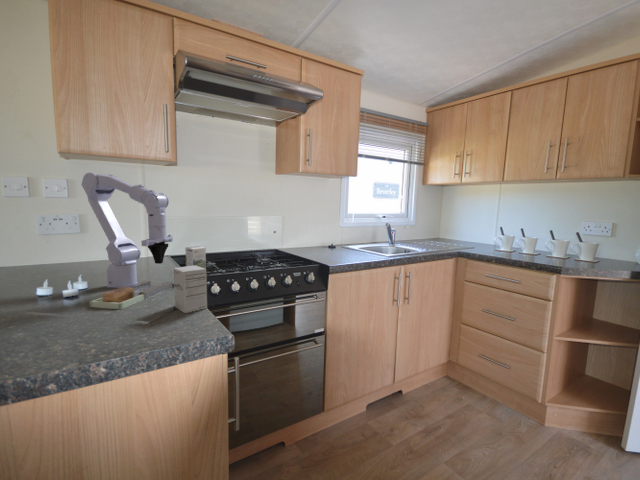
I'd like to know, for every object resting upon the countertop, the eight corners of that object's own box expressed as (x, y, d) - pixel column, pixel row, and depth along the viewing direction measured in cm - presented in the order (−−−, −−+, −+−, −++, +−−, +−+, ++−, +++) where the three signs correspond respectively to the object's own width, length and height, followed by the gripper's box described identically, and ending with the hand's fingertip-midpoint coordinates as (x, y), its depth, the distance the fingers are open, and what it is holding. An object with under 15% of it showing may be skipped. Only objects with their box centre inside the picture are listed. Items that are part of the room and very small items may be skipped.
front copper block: (103, 306, 98) (102, 293, 97) (113, 302, 102) (113, 290, 101) (114, 307, 97) (114, 294, 97) (124, 303, 101) (124, 290, 100)
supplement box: (174, 307, 99) (172, 267, 97) (197, 302, 104) (196, 264, 103) (183, 314, 94) (182, 271, 92) (208, 308, 99) (206, 268, 97)
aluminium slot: (114, 298, 107) (114, 290, 107) (144, 287, 121) (143, 280, 120) (146, 300, 105) (146, 292, 105) (173, 289, 119) (172, 282, 119)
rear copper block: (113, 302, 102) (112, 290, 101) (123, 298, 106) (122, 286, 105) (124, 303, 101) (123, 290, 100) (133, 299, 105) (133, 287, 104)
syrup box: (198, 279, 135) (197, 245, 133) (206, 282, 131) (205, 247, 129) (186, 282, 130) (184, 247, 129) (193, 284, 127) (192, 248, 125)
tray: (89, 308, 97) (89, 301, 97) (117, 298, 107) (116, 292, 107) (120, 311, 95) (120, 303, 95) (145, 300, 106) (145, 293, 105)
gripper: (153, 228, 109) (155, 267, 110) (179, 225, 123) (180, 260, 124) (135, 227, 110) (137, 266, 111) (162, 225, 124) (164, 259, 126)
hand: (158, 263), depth 118 cm, fingers closed
